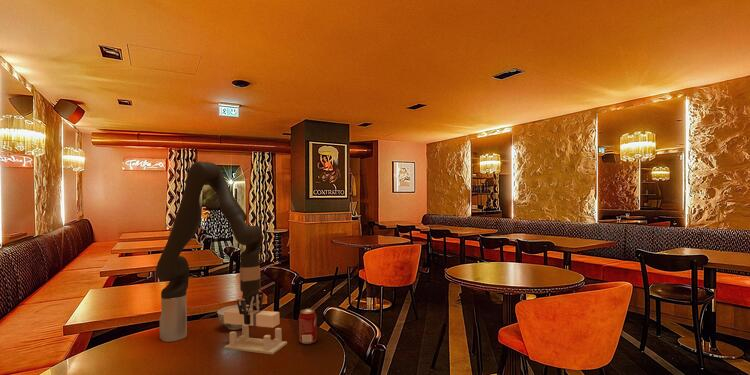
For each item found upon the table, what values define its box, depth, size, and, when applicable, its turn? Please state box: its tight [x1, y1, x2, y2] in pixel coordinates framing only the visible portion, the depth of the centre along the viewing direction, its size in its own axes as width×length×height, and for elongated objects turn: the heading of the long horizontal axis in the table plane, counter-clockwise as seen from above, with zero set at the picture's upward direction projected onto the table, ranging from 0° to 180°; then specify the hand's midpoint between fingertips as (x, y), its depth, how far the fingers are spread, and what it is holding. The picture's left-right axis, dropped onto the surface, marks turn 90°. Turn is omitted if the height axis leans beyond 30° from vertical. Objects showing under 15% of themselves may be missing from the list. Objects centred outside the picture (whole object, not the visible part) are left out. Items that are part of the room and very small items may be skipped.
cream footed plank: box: [224, 325, 288, 355], centre depth 145 cm, size 21×10×6 cm, turn 73°
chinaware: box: [216, 304, 252, 331], centre depth 167 cm, size 15×15×8 cm
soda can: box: [298, 308, 318, 345], centre depth 148 cm, size 7×7×12 cm
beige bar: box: [224, 308, 281, 328], centre depth 146 cm, size 22×4×4 cm, turn 73°
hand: (251, 321), depth 145 cm, fingers closed on beige bar, 4 cm apart
